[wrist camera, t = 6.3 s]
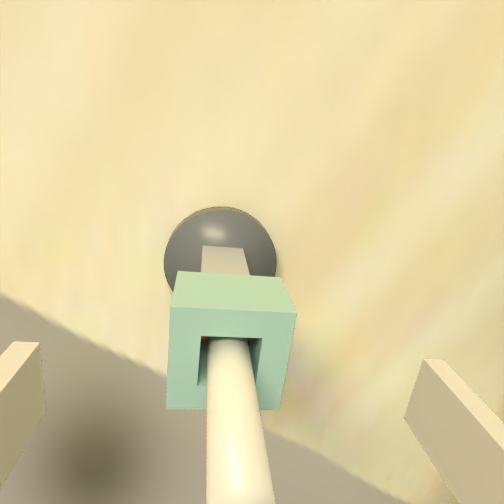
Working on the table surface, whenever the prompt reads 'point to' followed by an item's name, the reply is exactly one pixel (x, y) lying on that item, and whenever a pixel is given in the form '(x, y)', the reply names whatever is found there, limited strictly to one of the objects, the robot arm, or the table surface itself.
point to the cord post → (228, 353)
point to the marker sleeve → (228, 333)
